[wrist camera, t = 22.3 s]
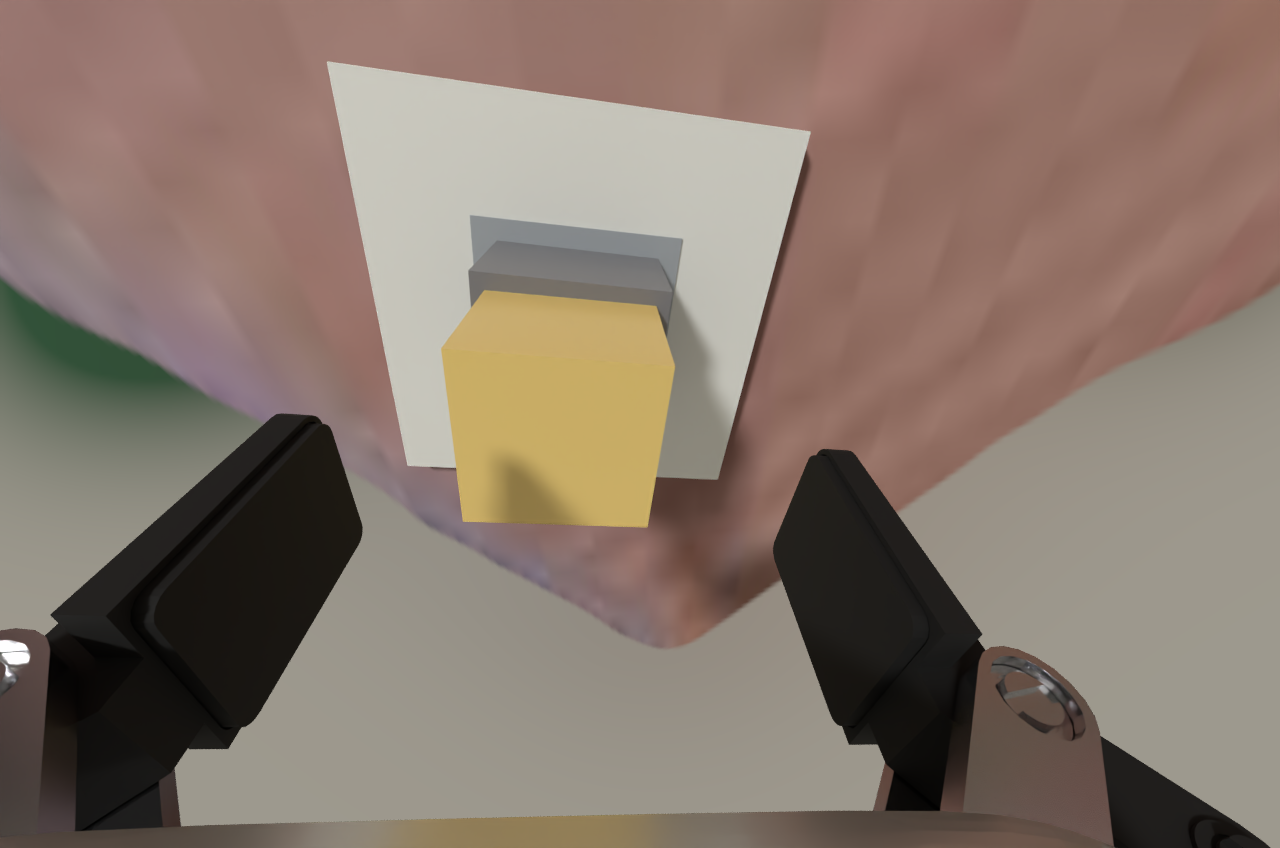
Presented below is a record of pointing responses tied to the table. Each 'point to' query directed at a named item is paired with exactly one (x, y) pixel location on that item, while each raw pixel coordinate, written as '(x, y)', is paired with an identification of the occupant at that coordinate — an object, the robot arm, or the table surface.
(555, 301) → the ochre brick
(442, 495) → the table surface
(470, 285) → the charcoal brick
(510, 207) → the base plate
